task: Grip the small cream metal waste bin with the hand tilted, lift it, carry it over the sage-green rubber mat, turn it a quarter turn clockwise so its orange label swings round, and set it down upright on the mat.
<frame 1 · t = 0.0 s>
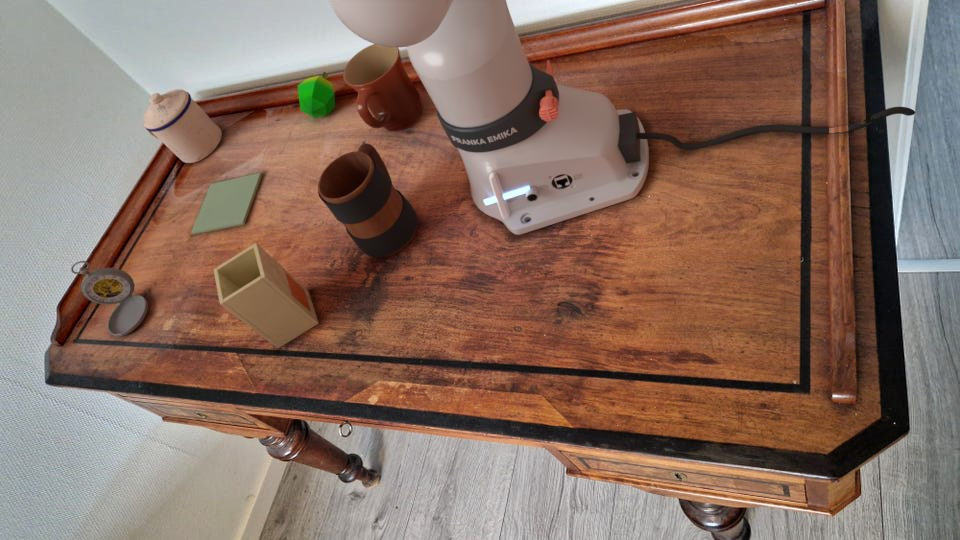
mat: (227, 204, 102), on the table
bin: (293, 319, 83), on the table
mug: (401, 125, 97), on the table
teacup with lid: (196, 147, 116), on the table
apple: (328, 106, 108), on the table
pocket watch: (133, 312, 96), on the table
mug 2: (393, 224, 86), on the table
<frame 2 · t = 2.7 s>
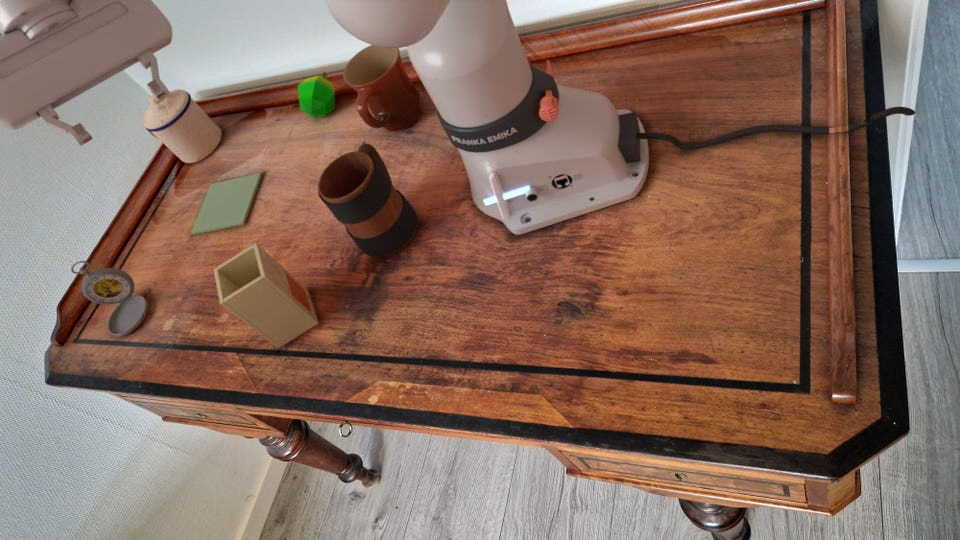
hand: (125, 118, 72), 26 cm above the table, tool tilted 35°, fingers open, 8 cm apart
nothing on the table moved.
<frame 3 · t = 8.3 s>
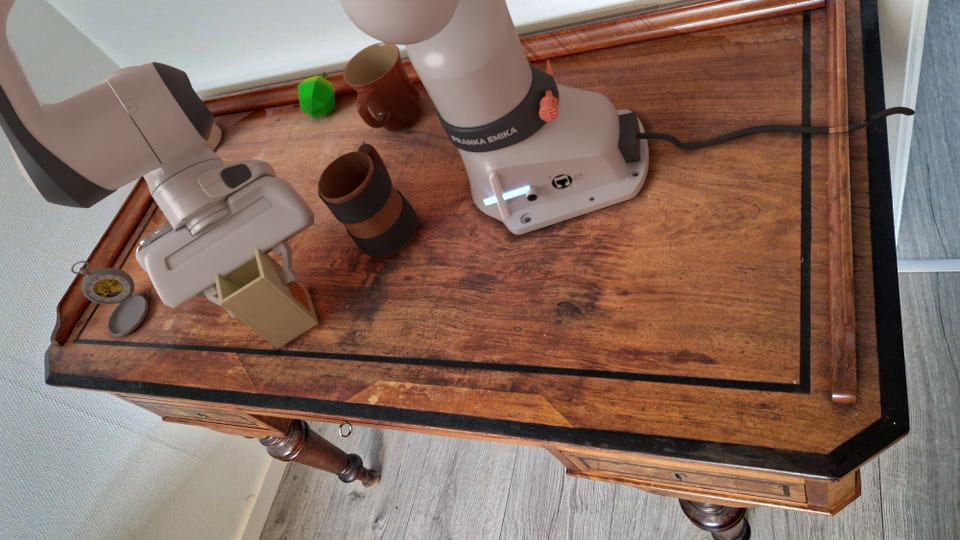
hand: (266, 298, 78), 6 cm above the table, tool tilted 45°, fingers closed on bin, 6 cm apart
bin: (293, 319, 83), on the table, touching gripper
everything else where it was.
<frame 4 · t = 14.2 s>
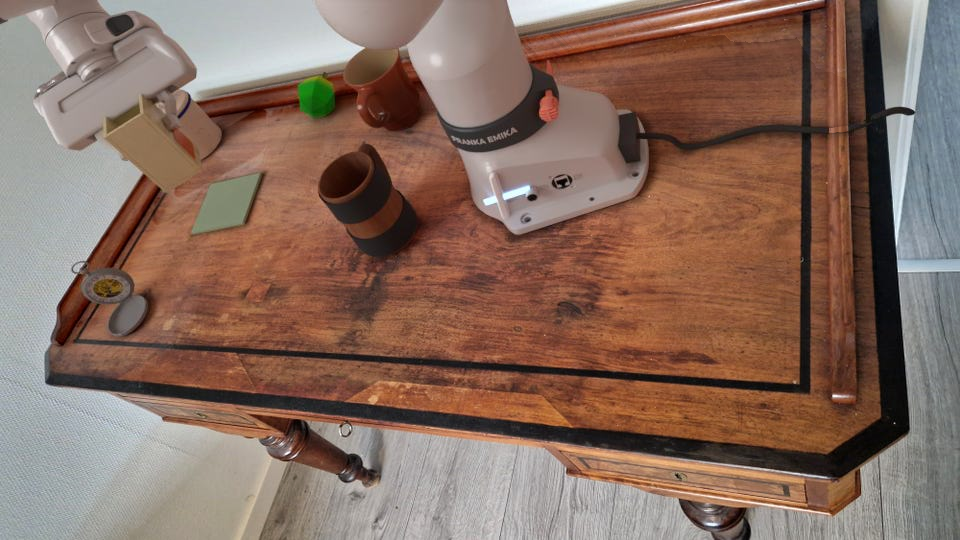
hand: (153, 143, 87), 17 cm above the table, tool tilted 45°, fingers closed on bin, 6 cm apart
bin: (182, 170, 92), point 11 cm above the table, touching gripper
everything else where it was.
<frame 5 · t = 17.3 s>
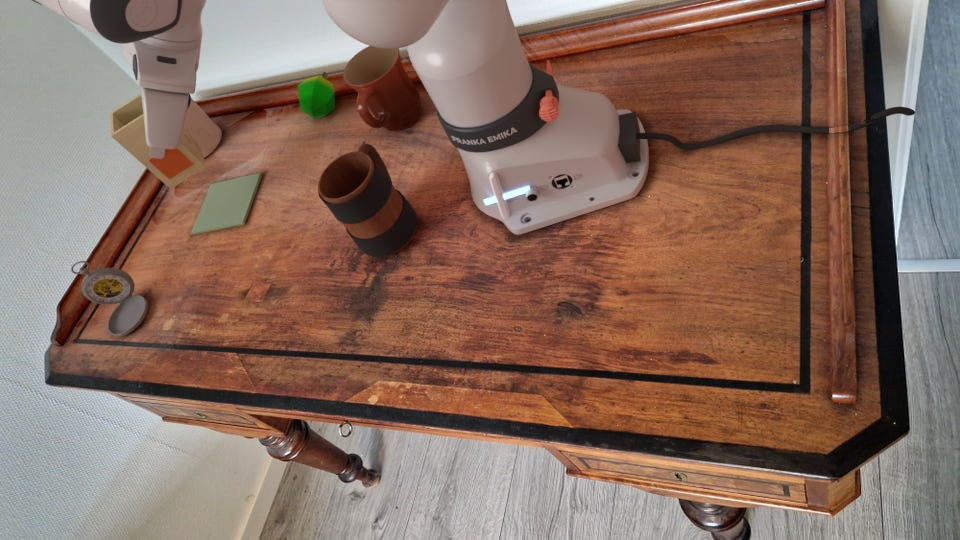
hand: (154, 141, 91), 15 cm above the table, tool tilted 45°, fingers closed on bin, 6 cm apart
bin: (186, 166, 96), point 9 cm above the table, touching gripper
everything else where it was.
when the fingers open (6 cm above the table, at t = 20.2 s): bin stays where it is, resting on mat.
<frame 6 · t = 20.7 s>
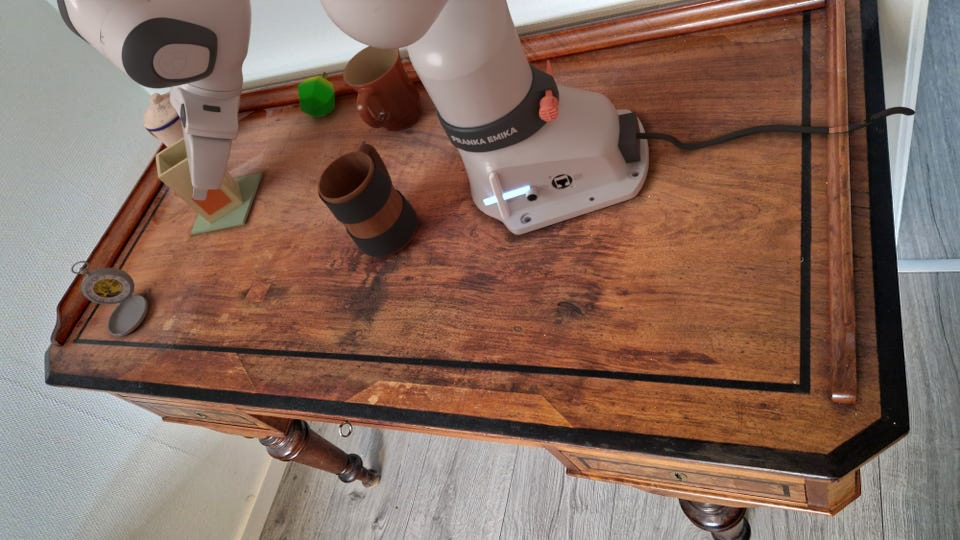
hand: (195, 178, 97), 7 cm above the table, tool tilted 45°, fingers open, 8 cm apart
bin: (224, 202, 102), resting on mat
everything else where it was.
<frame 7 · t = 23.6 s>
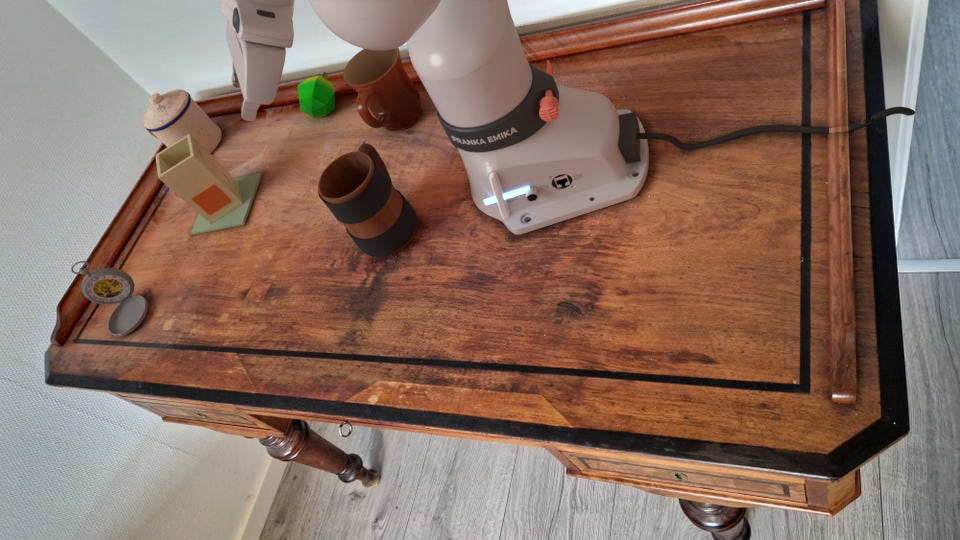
hand: (242, 101, 92), 13 cm above the table, tool tilted 45°, fingers open, 8 cm apart
nothing on the table moved.
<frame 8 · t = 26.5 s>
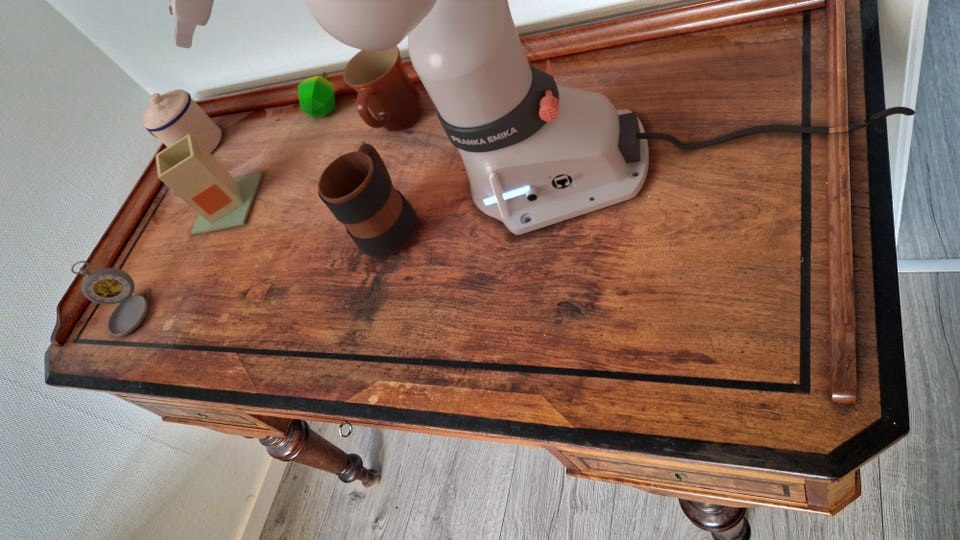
hand: (179, 29, 83), 25 cm above the table, tool tilted 45°, fingers open, 8 cm apart
nothing on the table moved.
at the end: bin 0.3 cm off-centre on the mat, point 0.5 cm above the mat's base; bin tilted 0°; the gripper is holding nothing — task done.
